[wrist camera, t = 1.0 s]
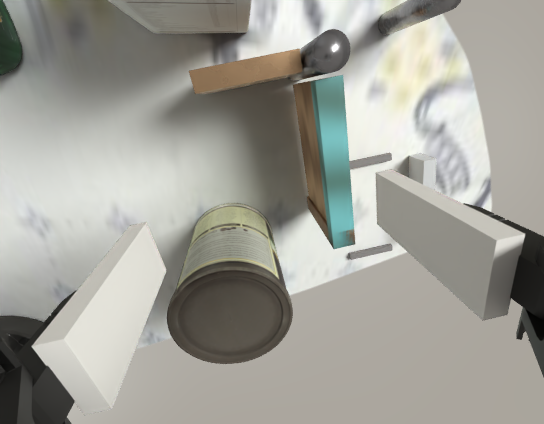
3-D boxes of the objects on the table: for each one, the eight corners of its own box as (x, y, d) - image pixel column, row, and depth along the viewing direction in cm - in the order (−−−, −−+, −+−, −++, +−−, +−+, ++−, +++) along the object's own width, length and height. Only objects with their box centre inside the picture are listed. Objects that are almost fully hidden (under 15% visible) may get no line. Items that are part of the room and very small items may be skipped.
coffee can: (288, 244, 37) (315, 324, 24) (227, 285, 38) (222, 381, 25) (240, 185, 33) (243, 243, 20) (174, 233, 34) (137, 316, 21)
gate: (290, 85, 28) (315, 80, 19) (309, 81, 28) (342, 75, 19) (308, 208, 34) (333, 249, 25) (324, 205, 34) (355, 244, 25)
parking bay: (349, 257, 39) (358, 270, 36) (341, 163, 33) (350, 169, 31) (417, 242, 39) (431, 253, 36) (420, 146, 34) (437, 150, 31)
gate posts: (208, 98, 29) (191, 100, 18) (196, 49, 27) (168, 19, 16) (397, 60, 29) (492, 39, 19) (397, 9, 28) (502, -46, 17)
